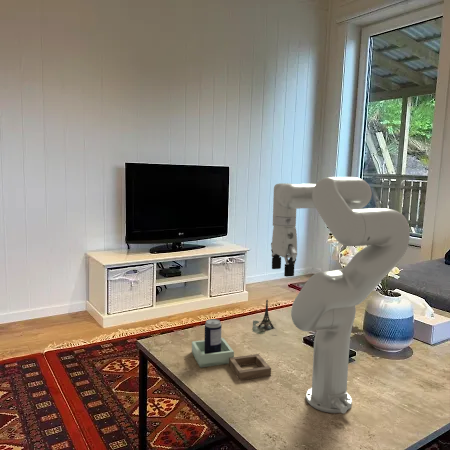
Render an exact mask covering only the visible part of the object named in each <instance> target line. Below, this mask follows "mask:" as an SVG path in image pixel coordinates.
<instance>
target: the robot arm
mask: <svg viewBox="0 0 450 450" xmlns="http://www.w3.org/2000/svg"><path fill="white" fill-rule="evenodd" d="M372 193H373V192H372V188H371V186H370V185H369V183H368V182H367V181H366V180H365V179H362V178H360V177H355V176H328V177H323V178H321V179H319V180H318V181H317V182H316V183H290V182H289V183H288V182H287V183H286V182H285V183H283V182H281V183H279V182H278V183H276V184H275V185H274V187H273V201H272V202H273V203H272V204H273V205H272V207H273V208H272V227H273V229H272V239H271V243H270V246H271V249H270V250H271V269H272V270H280V269H282V258H284V262H285V264H284V273H283V274H284V277H287V278H288V277H294V276H295V265H296V261H297V257H298V237H297V235H298V233H297V227H296V226H297V224H296V223H297V209H316V211H317V212H318V214H319V216H320V217H321V219H322V221H323V222H324V224H325V225H326V226H327V228H328V230H329V232H330V233H331V235H332V236H333V238H334V239H335V240H336V241H337V243H339V244H341V245H343V246H346V247H361V246H365V247H364V248H362V249H361V250H359V251H358V252H356V253H355V254H354V256H353V257H352V258H351V260H349V262H348V264H346V265H345V266H344V267H343V268H340V269H333V270H324V271H319V272H316V273H314V274H313V275H312V276H310V277H309V278H308V279H307V281H306V282H305V284H304V285H303V286H302V288H301V290H300V291H299V292H298V294H297V296H296V297H295V299H294V300H293V302H292V305H291V310H290V311H291V312H290V313H291V314H290V315H291V320H292V323H293V324H294V326H295V328H297V329H298V330H300V331H303V332H315V331H316V333H315V336H314V341H313V354H312V355H313V357H312V377H311V378H312V379H311V387H310V388H308V390H307V391H306V393H305V400H306V402H307V403H308V404H309V405H310V406H311V407H313V408H314V409H316V410H318V411H321V412H325V413H331V414H338V413H339V414H340V413H341V414H346V413H347V411H349V410H350V409H351V408H352V406H353V403H352V402H353V400H352V397H351V395H350V394H349V393H348V392H347V390H348V389H347V388H348V378H349V377H348V375H349V362H350V361H349V360H350V359H349V358H350V357H349V355H350V346H351V345H350V344H351V335H352V329H353V325H354V322H355V318H356V309H357V308H356V306H358V305H360V304H361V303H363V302H364V301H366V299H367V298H368V297H369V295H370V294H371V293H372V292H373V291H374V290H375V289H376V288H377V287H378V285H379V284H380V283H381V282H382V281H383V280H384V278H385V277H386V276H387V275H389V273H390V272H391V271H392V270H393V269H394V268H395V267H396V266H397V265H398V264H399V262H401V260H403V257H404V256H405V255H406V252H407V250H408V246H409V243H410V238H411V237H410V236H411V234H410V226H409V222H408V220H407V218H406V217H405V215H404V214H402V212H399V211H398V210H396V209H392V208H385V207H384V208H383V207H382V208H381V207H378V208H377V207H375V208H374V207H373V208H372V207H371V208H364V207H366V206H367V205H368V204H369V203H370V201H371V200H372Z"/></svg>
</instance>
